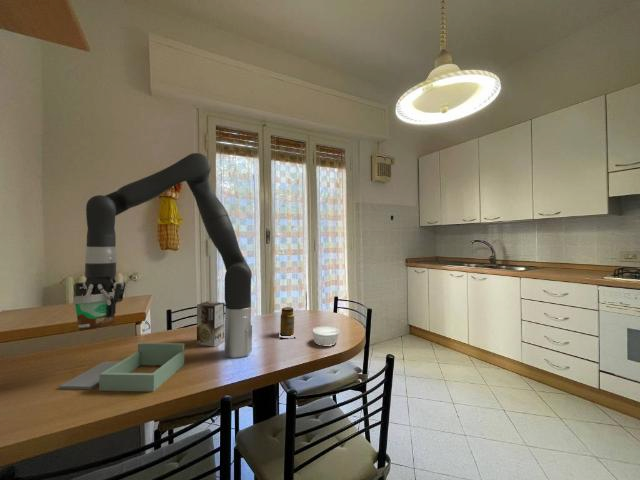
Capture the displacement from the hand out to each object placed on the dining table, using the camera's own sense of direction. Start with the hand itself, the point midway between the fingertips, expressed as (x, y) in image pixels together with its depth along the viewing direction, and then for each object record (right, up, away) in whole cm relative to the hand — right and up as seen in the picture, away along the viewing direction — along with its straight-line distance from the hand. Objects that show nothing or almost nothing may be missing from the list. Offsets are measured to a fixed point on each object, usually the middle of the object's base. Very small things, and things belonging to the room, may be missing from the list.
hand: (100, 316), depth 85 cm
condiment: (+53, -19, +38) cm, 68 cm away
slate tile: (0, -18, 0) cm, 18 cm away
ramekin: (+70, -20, +30) cm, 78 cm away
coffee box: (+23, -19, +28) cm, 41 cm away
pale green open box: (+14, -18, 0) cm, 23 cm away
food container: (+1, -3, 0) cm, 3 cm away
